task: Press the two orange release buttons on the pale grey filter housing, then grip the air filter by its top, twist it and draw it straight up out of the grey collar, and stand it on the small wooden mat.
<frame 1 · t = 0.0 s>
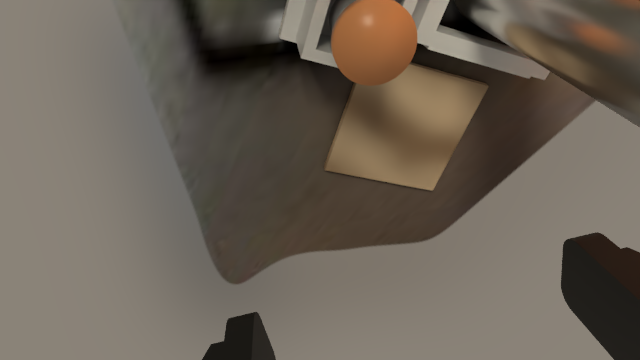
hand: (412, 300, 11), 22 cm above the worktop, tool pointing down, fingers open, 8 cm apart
plunger b: (364, 30, 23), point 7 cm above the worktop, slide at 0.0 cm
mat: (401, 126, 34), on the worktop
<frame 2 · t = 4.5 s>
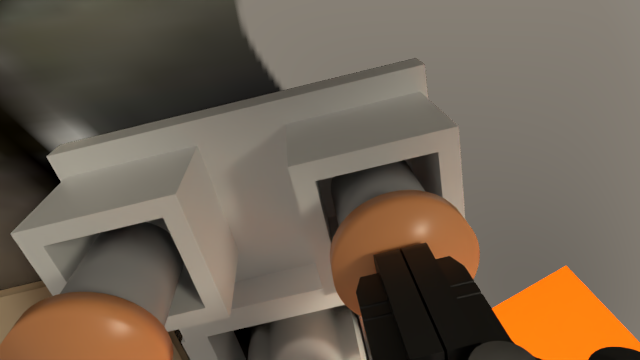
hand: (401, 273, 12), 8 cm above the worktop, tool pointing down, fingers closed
housing: (309, 328, 23), on the worktop
plunger a: (386, 220, 14), point 5 cm above the worktop, slide at 1.2 cm, touching gripper
air filter: (309, 325, 24), resting in housing
orange juice: (520, 338, 26), on the worktop
plunger b: (116, 306, 13), point 6 cm above the worktop, slide at 0.0 cm
mat: (83, 352, 23), on the worktop
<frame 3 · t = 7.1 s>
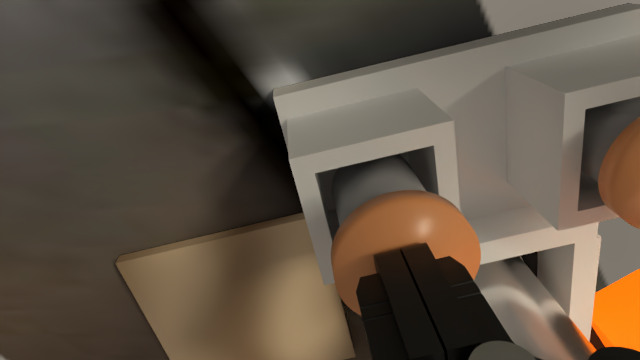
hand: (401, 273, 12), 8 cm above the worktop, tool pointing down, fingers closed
housing: (466, 284, 24), on the worktop
plunger a: (624, 142, 15), point 5 cm above the worktop, slide at 2.0 cm
air filter: (465, 282, 24), resting in housing
plunger b: (387, 220, 14), point 6 cm above the worktop, slide at 0.6 cm, touching gripper
mat: (247, 306, 23), on the worktop
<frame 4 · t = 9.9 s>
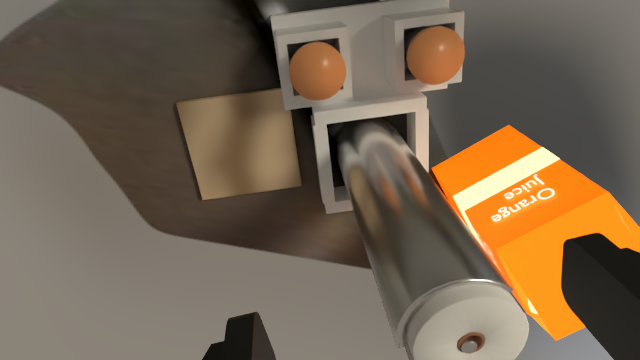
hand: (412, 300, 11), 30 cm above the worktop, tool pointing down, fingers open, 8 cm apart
housing: (367, 146, 42), on the worktop
plunger a: (426, 50, 34), point 5 cm above the worktop, slide at 2.0 cm
air filter: (367, 145, 42), resting in housing
orange juice: (481, 173, 45), on the worktop
plunger b: (315, 65, 34), point 5 cm above the worktop, slide at 1.9 cm
mat: (243, 144, 41), on the worktop
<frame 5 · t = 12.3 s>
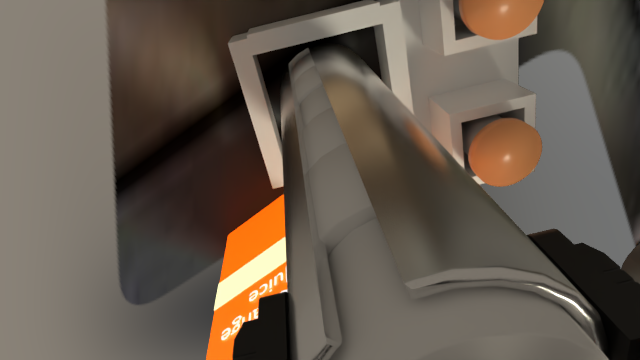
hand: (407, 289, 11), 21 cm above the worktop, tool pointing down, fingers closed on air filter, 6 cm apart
housing: (325, 90, 30), on the worktop
plunger a: (489, 140, 28), point 5 cm above the worktop, slide at 2.0 cm
air filter: (325, 89, 30), resting in housing, touching gripper
orange juice: (297, 241, 36), on the worktop
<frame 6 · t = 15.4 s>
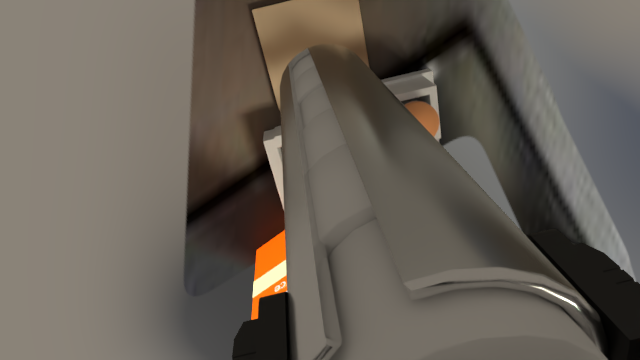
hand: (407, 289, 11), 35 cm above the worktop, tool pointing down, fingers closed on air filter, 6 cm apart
housing: (320, 161, 48), on the worktop
air filter: (325, 90, 30), point 14 cm above the worktop, touching gripper
orange juice: (302, 254, 54), on the worktop
plunger b: (409, 117, 42), point 5 cm above the worktop, slide at 1.9 cm
mat: (314, 50, 42), on the worktop
when the fingers open (22 cm above the worktop, at t = 18.3 s): air filter drops 1 cm, resting on mat.
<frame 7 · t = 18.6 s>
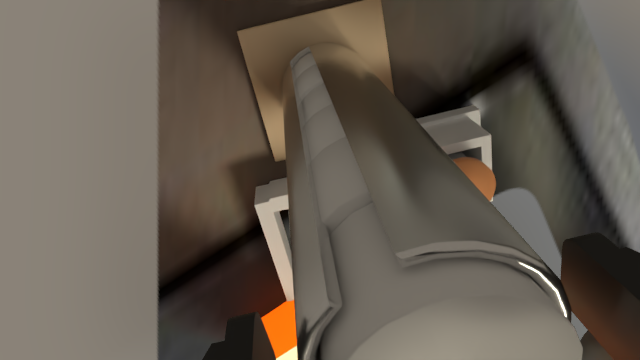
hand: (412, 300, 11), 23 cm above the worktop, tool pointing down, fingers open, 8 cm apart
housing: (329, 221, 37), on the worktop
air filter: (325, 86, 31), resting on mat
orange juice: (305, 329, 43), on the worktop
plunger b: (451, 174, 31), point 5 cm above the worktop, slide at 1.9 cm
mat: (323, 83, 32), on the worktop
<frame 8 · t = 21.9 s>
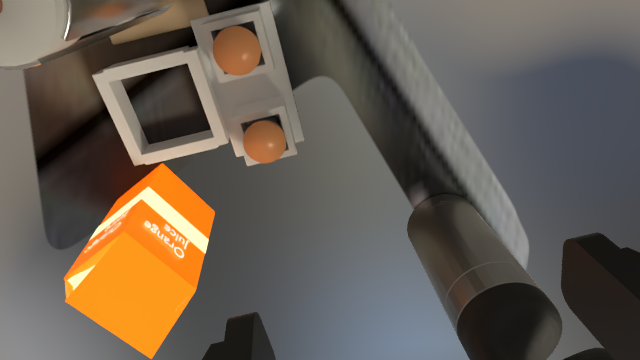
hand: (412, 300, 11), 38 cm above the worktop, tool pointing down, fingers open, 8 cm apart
housing: (169, 102, 46), on the worktop
plunger a: (265, 134, 44), point 5 cm above the worktop, slide at 2.0 cm
orange juice: (167, 204, 52), on the worktop
plunger b: (239, 47, 40), point 5 cm above the worktop, slide at 1.9 cm
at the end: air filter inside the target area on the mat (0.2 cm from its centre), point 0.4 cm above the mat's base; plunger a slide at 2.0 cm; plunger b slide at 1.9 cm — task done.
